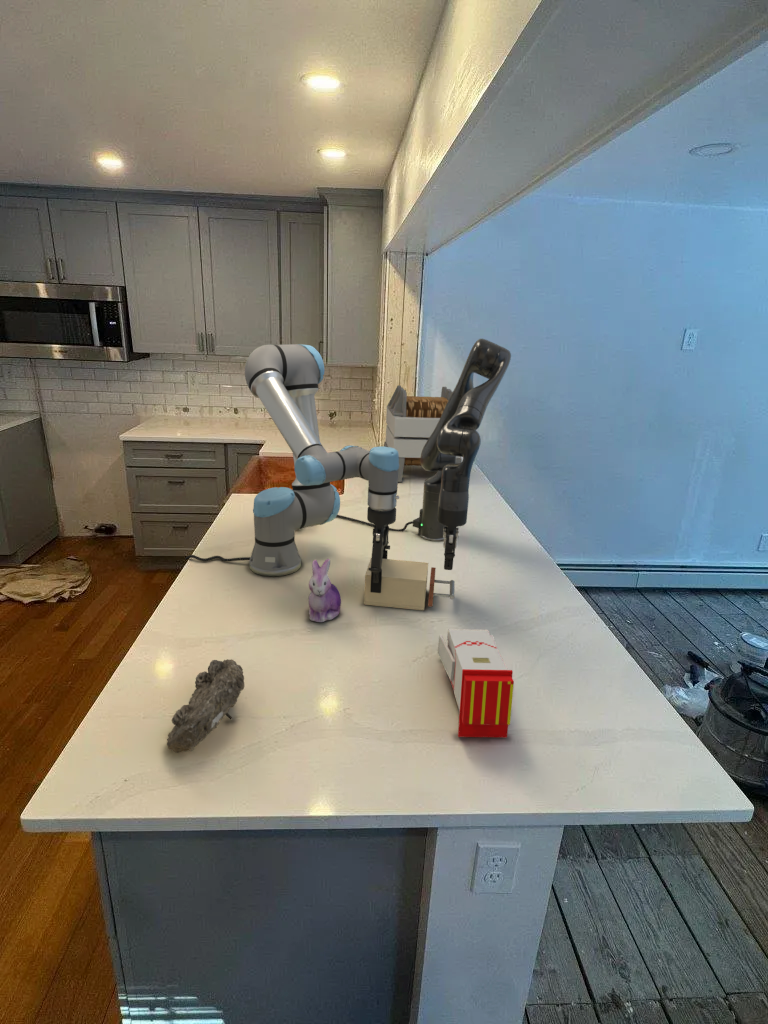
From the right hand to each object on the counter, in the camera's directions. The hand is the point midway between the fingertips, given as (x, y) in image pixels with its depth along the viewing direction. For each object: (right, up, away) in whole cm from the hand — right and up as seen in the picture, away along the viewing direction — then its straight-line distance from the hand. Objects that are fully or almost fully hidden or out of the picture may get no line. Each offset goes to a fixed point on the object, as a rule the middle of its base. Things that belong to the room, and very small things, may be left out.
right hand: (448, 562), depth 151 cm
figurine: (-32, -13, -5) cm, 35 cm away
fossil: (-50, -26, -42) cm, 70 cm away
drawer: (-8, -10, +4) cm, 13 cm away
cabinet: (-14, -10, +5) cm, 18 cm away
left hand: (-19, -6, +4) cm, 20 cm away
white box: (0, +32, +124) cm, 129 cm away
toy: (+1, -24, -32) cm, 40 cm away
